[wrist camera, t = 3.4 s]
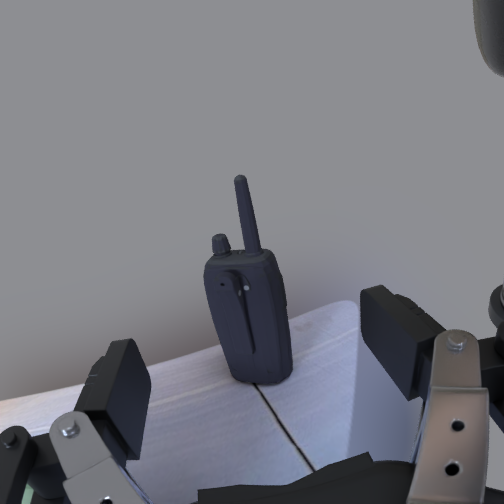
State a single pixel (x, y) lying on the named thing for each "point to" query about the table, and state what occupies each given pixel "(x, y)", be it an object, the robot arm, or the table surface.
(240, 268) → the two-way radio
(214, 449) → the table surface
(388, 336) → the robot arm
